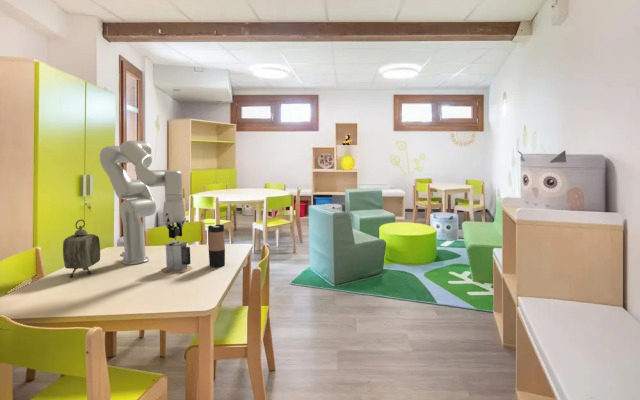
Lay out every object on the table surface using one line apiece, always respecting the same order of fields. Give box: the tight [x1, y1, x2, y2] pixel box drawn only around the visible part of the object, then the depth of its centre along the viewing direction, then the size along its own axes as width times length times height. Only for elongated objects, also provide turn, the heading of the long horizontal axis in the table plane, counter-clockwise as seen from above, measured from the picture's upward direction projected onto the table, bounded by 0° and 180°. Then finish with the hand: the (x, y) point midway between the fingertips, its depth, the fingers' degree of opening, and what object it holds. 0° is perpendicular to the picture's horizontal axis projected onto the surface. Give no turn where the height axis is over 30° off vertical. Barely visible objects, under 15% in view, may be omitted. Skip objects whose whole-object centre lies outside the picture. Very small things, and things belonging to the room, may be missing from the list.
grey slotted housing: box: [164, 240, 192, 272], centre depth 192 cm, size 12×9×13 cm
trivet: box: [160, 265, 193, 275], centre depth 193 cm, size 14×14×1 cm
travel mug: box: [207, 224, 226, 268], centre depth 198 cm, size 8×8×20 cm
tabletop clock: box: [62, 219, 101, 278], centre depth 186 cm, size 14×9×25 cm, turn 1°
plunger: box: [174, 225, 180, 244], centre depth 192 cm, size 6×6×15 cm
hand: (175, 236), depth 191 cm, fingers closed on plunger, 4 cm apart
